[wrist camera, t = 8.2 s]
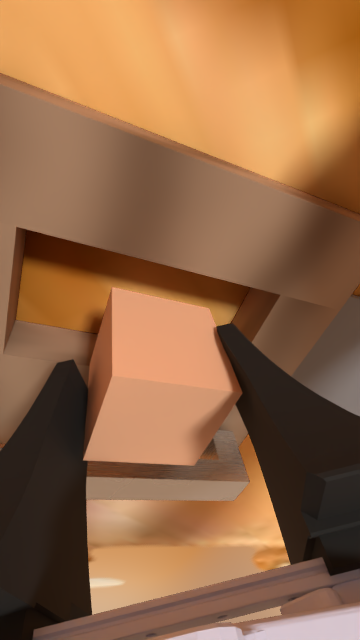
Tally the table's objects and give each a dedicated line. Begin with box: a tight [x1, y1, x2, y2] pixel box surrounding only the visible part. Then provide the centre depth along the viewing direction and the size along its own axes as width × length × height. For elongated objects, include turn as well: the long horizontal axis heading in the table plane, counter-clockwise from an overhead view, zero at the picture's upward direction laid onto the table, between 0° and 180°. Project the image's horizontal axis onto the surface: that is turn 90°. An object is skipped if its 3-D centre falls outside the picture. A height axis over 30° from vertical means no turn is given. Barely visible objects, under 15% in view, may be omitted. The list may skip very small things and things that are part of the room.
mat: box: [291, 294, 360, 416], centre depth 23 cm, size 10×10×1 cm
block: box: [83, 287, 242, 466], centre depth 12 cm, size 4×4×4 cm
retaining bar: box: [0, 430, 250, 501], centre depth 17 cm, size 15×2×3 cm, turn 70°
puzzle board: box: [0, 73, 360, 447], centre depth 16 cm, size 20×16×2 cm
